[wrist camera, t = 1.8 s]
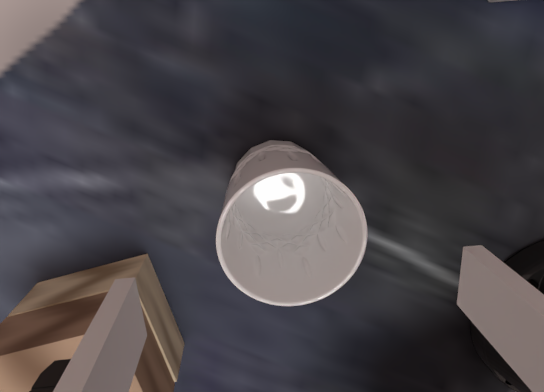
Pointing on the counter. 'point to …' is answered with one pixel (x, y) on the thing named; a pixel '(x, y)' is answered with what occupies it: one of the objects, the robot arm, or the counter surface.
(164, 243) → the counter surface
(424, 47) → the counter surface
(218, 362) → the counter surface
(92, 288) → the tower bottom
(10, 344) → the tower top
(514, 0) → the supplement box
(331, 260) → the white cup
